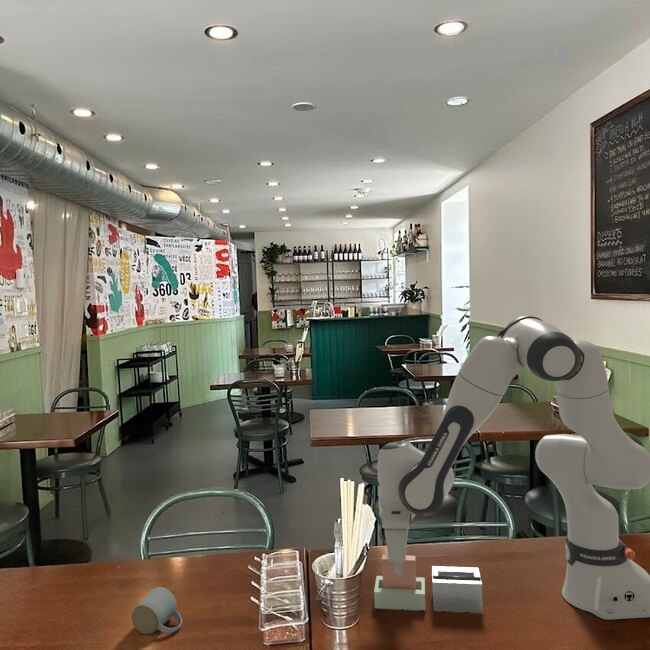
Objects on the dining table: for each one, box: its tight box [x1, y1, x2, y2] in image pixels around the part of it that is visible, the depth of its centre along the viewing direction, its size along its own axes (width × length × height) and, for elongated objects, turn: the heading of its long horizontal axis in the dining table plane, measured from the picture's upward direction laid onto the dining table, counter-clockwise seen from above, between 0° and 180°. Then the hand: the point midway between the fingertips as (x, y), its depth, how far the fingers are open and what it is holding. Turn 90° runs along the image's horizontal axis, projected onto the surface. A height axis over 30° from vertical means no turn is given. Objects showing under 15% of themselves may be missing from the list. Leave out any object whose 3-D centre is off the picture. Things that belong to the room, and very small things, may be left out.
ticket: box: [381, 554, 417, 590], centre depth 140 cm, size 8×2×10 cm, turn 81°
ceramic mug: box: [131, 586, 183, 635], centre depth 133 cm, size 11×8×8 cm
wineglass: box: [333, 517, 343, 540], centre depth 161 cm, size 6×6×12 cm
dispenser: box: [431, 565, 484, 614], centre depth 137 cm, size 11×8×8 cm
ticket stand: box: [373, 575, 427, 612], centre depth 140 cm, size 12×8×4 cm, turn 81°
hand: (399, 563), depth 139 cm, fingers open, 8 cm apart
